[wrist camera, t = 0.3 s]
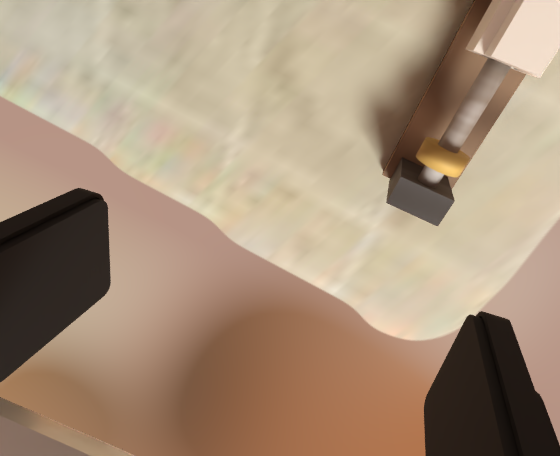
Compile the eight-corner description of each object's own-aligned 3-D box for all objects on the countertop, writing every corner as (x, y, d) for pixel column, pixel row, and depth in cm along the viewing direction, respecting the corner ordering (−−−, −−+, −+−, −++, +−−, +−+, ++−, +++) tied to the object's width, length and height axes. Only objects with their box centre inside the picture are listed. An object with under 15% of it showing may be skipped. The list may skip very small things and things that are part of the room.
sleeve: (498, -11, 27) (523, -26, 21) (560, 13, 27) (604, 6, 21) (465, 49, 29) (479, 51, 23) (522, 73, 29) (552, 81, 23)
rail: (498, -45, 29) (523, -69, 22) (577, -14, 28) (626, -29, 22) (382, 173, 38) (376, 199, 31) (441, 199, 37) (447, 232, 31)
